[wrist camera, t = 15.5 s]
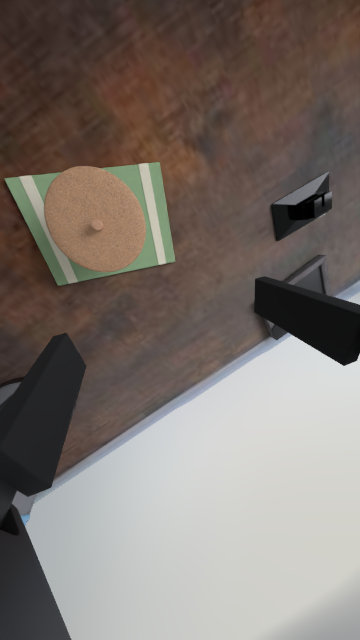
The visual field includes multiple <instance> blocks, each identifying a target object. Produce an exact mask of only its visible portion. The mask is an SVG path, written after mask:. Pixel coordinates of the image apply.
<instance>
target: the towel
mask: <svg viewBox="0 0 360 640" xmlns="http://www.w3.org/2000/svg"><path fill="white" fill-rule="evenodd" d="M100 169H103V170H106V171H108V172H110V173H111V174H113V175H115V176H116V177H118V178H119V179H120V180H122V181H123V182H124V183H125V184H126V185H127V186H128V187H129V188H130V190H131V191H132V192H133V193H134V195H135V196H136V198H137V200H138V201H139V203H140V206H141V208H142V211H143V214H144V217H145V223H146V236H145V242H144V245H143V248H142V250H141V252H140V254H139V255H138V257H137V258H136V259H135V260H134V261H133V262H132V263H131V264H130V265H128V266H127V267H125V268H123V269H121V270H118V271H114V272H97V271H92V270H89V269H86V268H84V267H82V266H80V265H78V264H76V263H75V262H73V261H72V260H70V259H69V258H68V257H67V256H66V255H65V254H64V253H63V252H62V251H61V250H60V249H59V248H58V246H57V245H56V244H55V242H54V241H53V239H52V237H51V235H50V233H49V230H48V228H47V225H46V221H45V217H44V201H45V196H46V193H47V190H48V188H49V186H50V184H51V182H52V181H53V180H54V179H55V178H56V177H57V176H58V175H59V174H60V173H52V174H43V175H33V176H31V175H30V176H21V177H14V178H5V181H6V183H7V185H8V187H9V189H10V191H11V193H12V195H13V197H14V199H15V201H16V203H17V205H18V207H19V209H20V211H21V213H22V215H23V217H24V219H25V221H26V223H27V225H28V227H29V229H30V231H31V233H32V235H33V237H34V239H35V241H36V243H37V245H38V247H39V249H40V251H41V253H42V255H43V257H44V259H45V261H46V263H47V265H48V267H49V269H50V271H51V273H52V275H53V277H54V279H55V281H56V283H57V285H58V286H60V285H65V284H70V283H75V282H79V281H84V280H89V279H94V278H98V277H103V276H108V275H113V274H118V273H122V272H127V271H132V270H137V269H142V268H147V267H151V266H156V265H162V264H166V263H171V262H175V257H174V251H173V245H172V238H171V232H170V226H169V219H168V213H167V207H166V200H165V194H164V188H163V181H162V175H161V169H160V162H156V163H144V164H137V165H128V166H118V167H109V168H100Z"/></svg>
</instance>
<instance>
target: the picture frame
mask: <svg viewBox="0 0 360 640" xmlns="http://www.w3.org/2000/svg"><path fill="white" fill-rule="evenodd" d="M283 282H285V283H288V284H292V285H295V286H298V287H302V288H305V289H308V290H312V291H315V292H318V293H322V294H325V295H328V296H331V289H330V282H329V275H328V268H327V261H326V255H318V256H317V257H315V258H314V259H313V260H311V261H310V262H308V263H307V264H306V265H304V266H303V267H302V268H300V269H299V270H298V271H296V272H295V273H294V274H292V275H291V276H290V277H288V278H287V279H285V280H284V281H283ZM263 319H264V321H265V324H266V326H267V328H268V330H269V333H270V335H271V337H273V338H274V339H276V340H278V339H279V338H281V337H282V336H283V335H285V334H286V333H287V331H285V330H283V329H282V328H280V327H278V326H277V325H275V324H273V323H272V322H270V321H268V320H267V319H265V318H263Z"/></svg>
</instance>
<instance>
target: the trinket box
mask: <svg viewBox="0 0 360 640" xmlns="http://www.w3.org/2000/svg"><path fill="white" fill-rule="evenodd" d="M44 217H45V221H46V225H47V228H48V230H49V233H50V235H51V237H52V239H53V241H54V242H55V244H56V245H57V246H58V248H59V249H60V250H61V251H62V252H63V253H64V254H65V255H66V256H67V257H68V258H69V259H70V260H72V261H73V262H75V263H76V264H78V265H80V266H82V267H84V268H86V269H89V270H92V271H97V272H114V271H118V270H121V269H123V268H125V267H127V266H128V265H130V264H131V263H132V262H133V261H134V260H135V259H136V258H137V257H138V255H139V254H140V252H141V250H142V248H143V245H144V242H145V236H146V223H145V217H144V214H143V211H142V208H141V206H140V203H139V201H138V200H137V198H136V196H135V195H134V193H133V192H132V191H131V190H130V188H129V187H128V186H127V185H126V184H125V183H124V182H123V181H122V180H120V179H119V178H118V177H116V176H115V175H113V174H111V173H110V172H108V171H106V170H103V169H100V168H97V167H91V166H77V167H73V168H70V169H67V170H65V171H63V172H62V173H60V174H59V175H58V176H57V177H56V178H55V179H54V180H53V181H52V182H51V184H50V186H49V188H48V190H47V193H46V196H45V201H44Z"/></svg>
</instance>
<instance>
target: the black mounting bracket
mask: <svg viewBox="0 0 360 640" xmlns="http://www.w3.org/2000/svg"><path fill="white" fill-rule="evenodd" d="M271 207H272V213H273V220H274V226H275V233H276V239H277V241H279V240H281V239H282V238H284V237H286V236H288V235H289V234H291V233H293V232H294V231H296V230H298V229H299V228H301V227H303V226H305V225H306V224H308V223H310V222H311V221H313V220H315V219H316V218H319V217H321V216H323V215H324V214H325V213H327V212H328V211H329V210H330V209H332V191H329V172H326V173H324V174H323V175H321V176H319V177H317V178H316V179H314V180H312V181H311V182H309V183H307V184H306V185H304V186H302V187H300V188H299V189H297V190H295V191H294V192H292V193H290V194H288V195H287V196H285V197H283V198H282V199H280V200H278V201H277V202H275V203H273V204H272V205H271Z"/></svg>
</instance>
